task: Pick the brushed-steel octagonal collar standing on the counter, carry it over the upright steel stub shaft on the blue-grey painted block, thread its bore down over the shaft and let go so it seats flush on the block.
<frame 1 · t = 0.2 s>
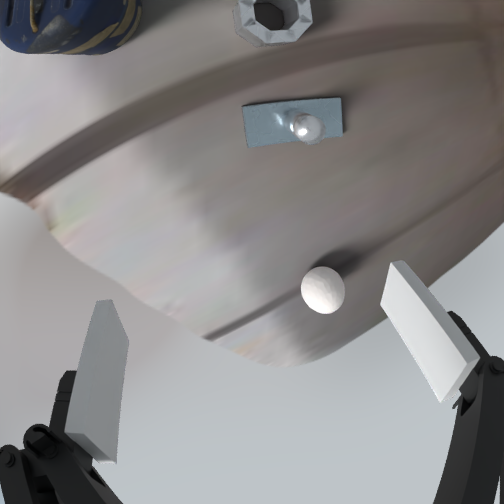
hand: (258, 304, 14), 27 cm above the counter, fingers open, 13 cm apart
shaft stand: (293, 119, 36), on the counter
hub: (264, 19, 29), on the counter
egg: (314, 273, 50), on the counter
canister: (104, 19, 26), on the counter
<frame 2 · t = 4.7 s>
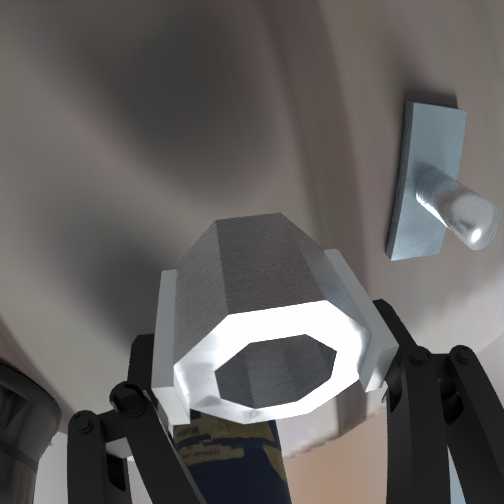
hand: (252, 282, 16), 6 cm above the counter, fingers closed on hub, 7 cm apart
shaft stand: (424, 182, 21), on the counter
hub: (252, 279, 16), point 6 cm above the counter, touching gripper
canister: (220, 382, 31), on the counter
when the fingers open (2 cm above the counter, at t = 8.5 s): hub drops 1 cm, resting on shaft stand.
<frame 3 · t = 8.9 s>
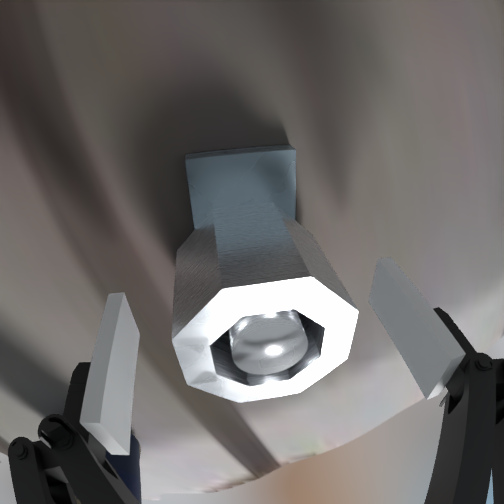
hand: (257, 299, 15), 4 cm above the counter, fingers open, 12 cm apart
shaft stand: (245, 254, 18), on the counter
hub: (247, 265, 17), point 1 cm above the counter, touching shaft stand
canister: (99, 429, 27), on the counter
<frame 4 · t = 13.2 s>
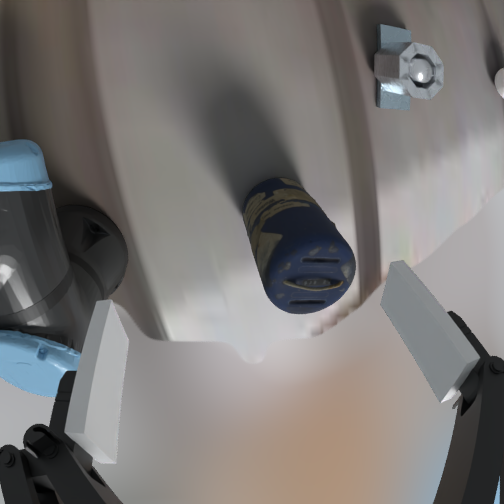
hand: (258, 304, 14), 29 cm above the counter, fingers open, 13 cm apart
shaft stand: (392, 67, 35), on the counter
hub: (396, 67, 34), point 1 cm above the counter, touching shaft stand
egg: (496, 81, 36), on the counter
canister: (275, 206, 44), on the counter
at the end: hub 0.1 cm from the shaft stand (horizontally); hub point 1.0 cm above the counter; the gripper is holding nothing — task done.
